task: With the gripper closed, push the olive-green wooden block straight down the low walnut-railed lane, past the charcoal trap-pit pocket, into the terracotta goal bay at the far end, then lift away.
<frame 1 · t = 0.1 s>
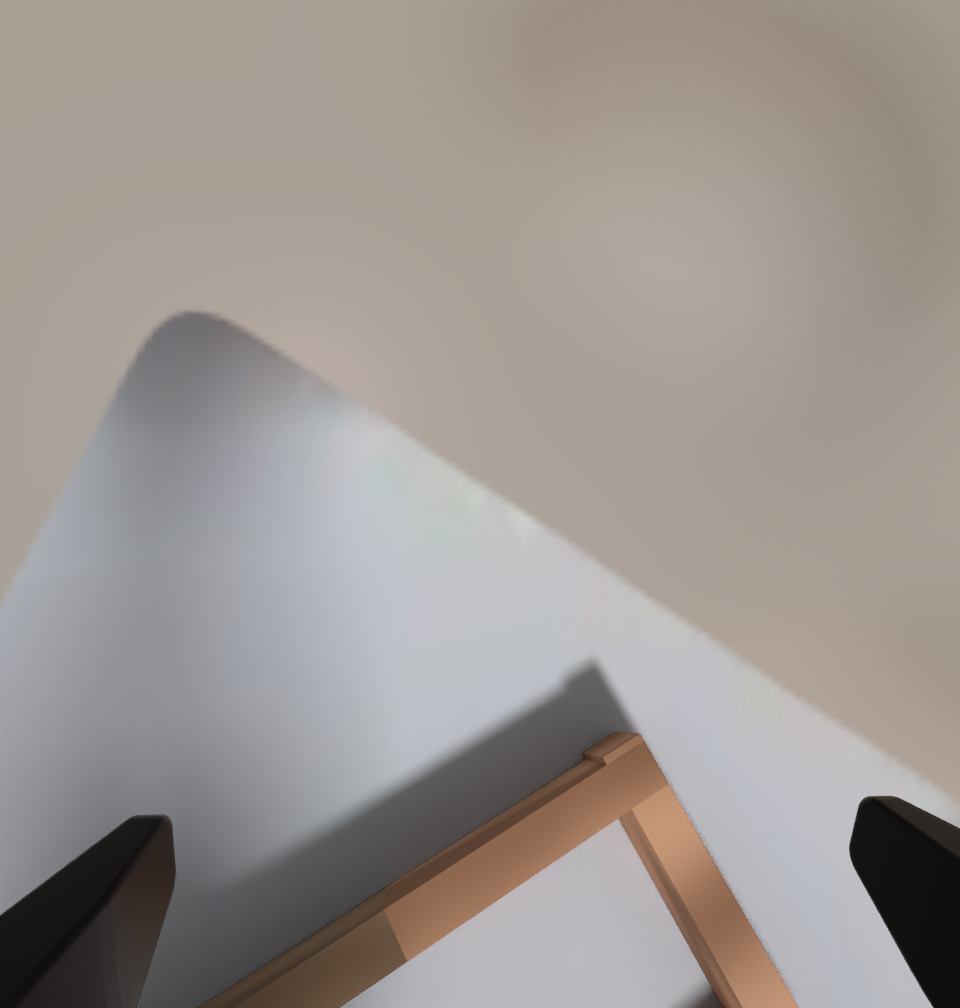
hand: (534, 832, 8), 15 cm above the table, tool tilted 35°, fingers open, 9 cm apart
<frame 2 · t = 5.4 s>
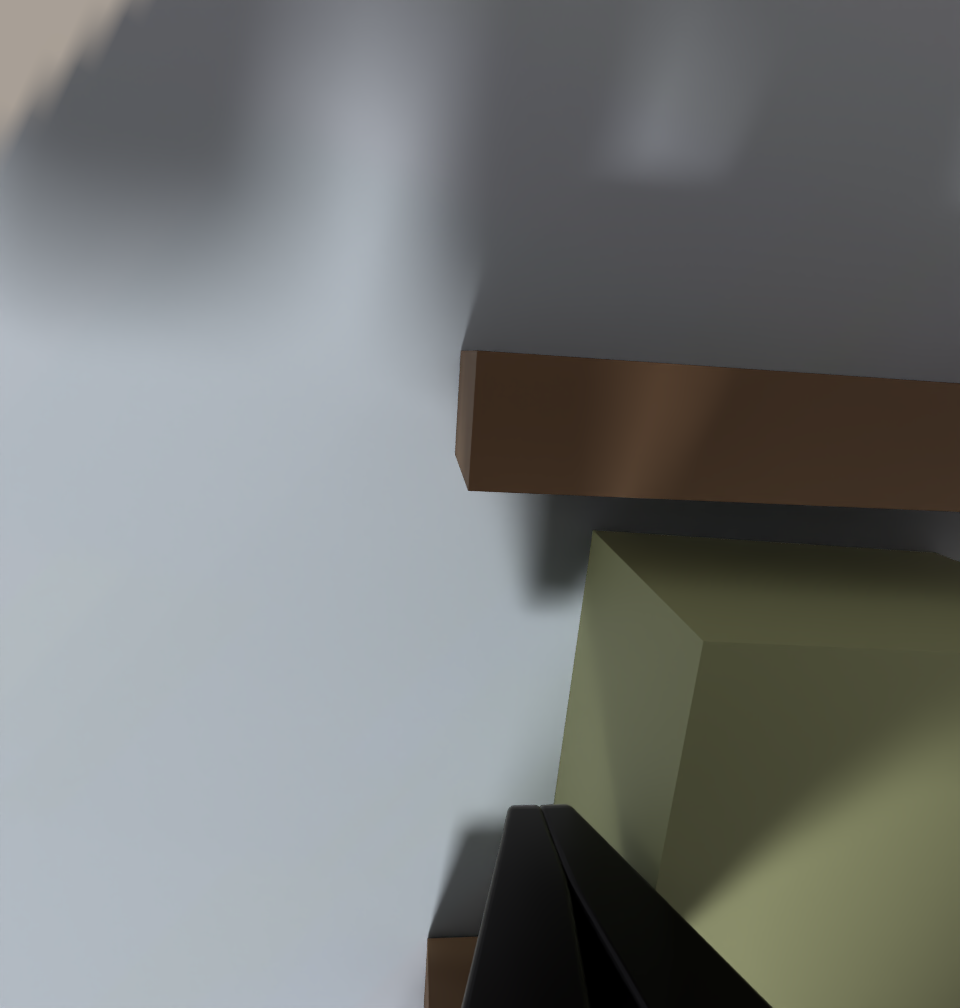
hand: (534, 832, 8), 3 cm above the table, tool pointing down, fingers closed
olive block: (731, 701, 11), on the table
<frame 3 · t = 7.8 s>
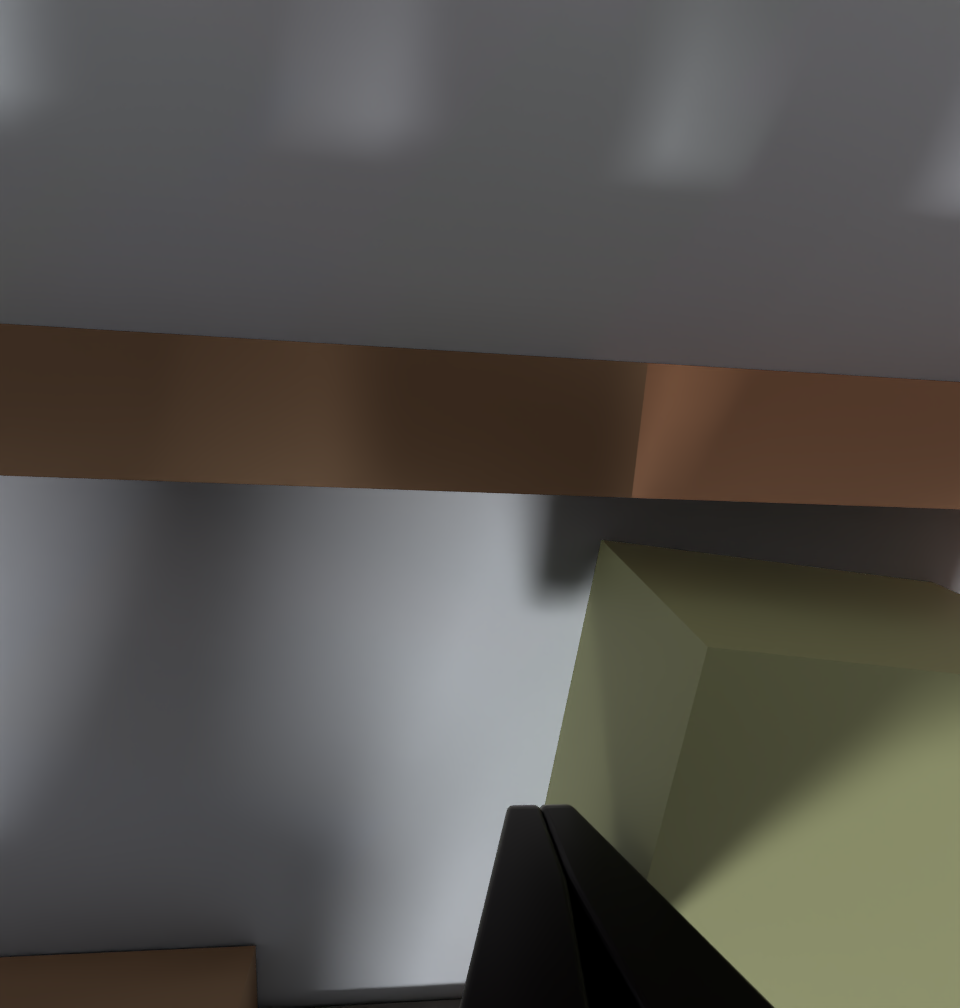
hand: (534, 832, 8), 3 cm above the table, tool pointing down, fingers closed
walled lane: (433, 721, 10), on the table
olive block: (721, 712, 11), on the table, touching gripper
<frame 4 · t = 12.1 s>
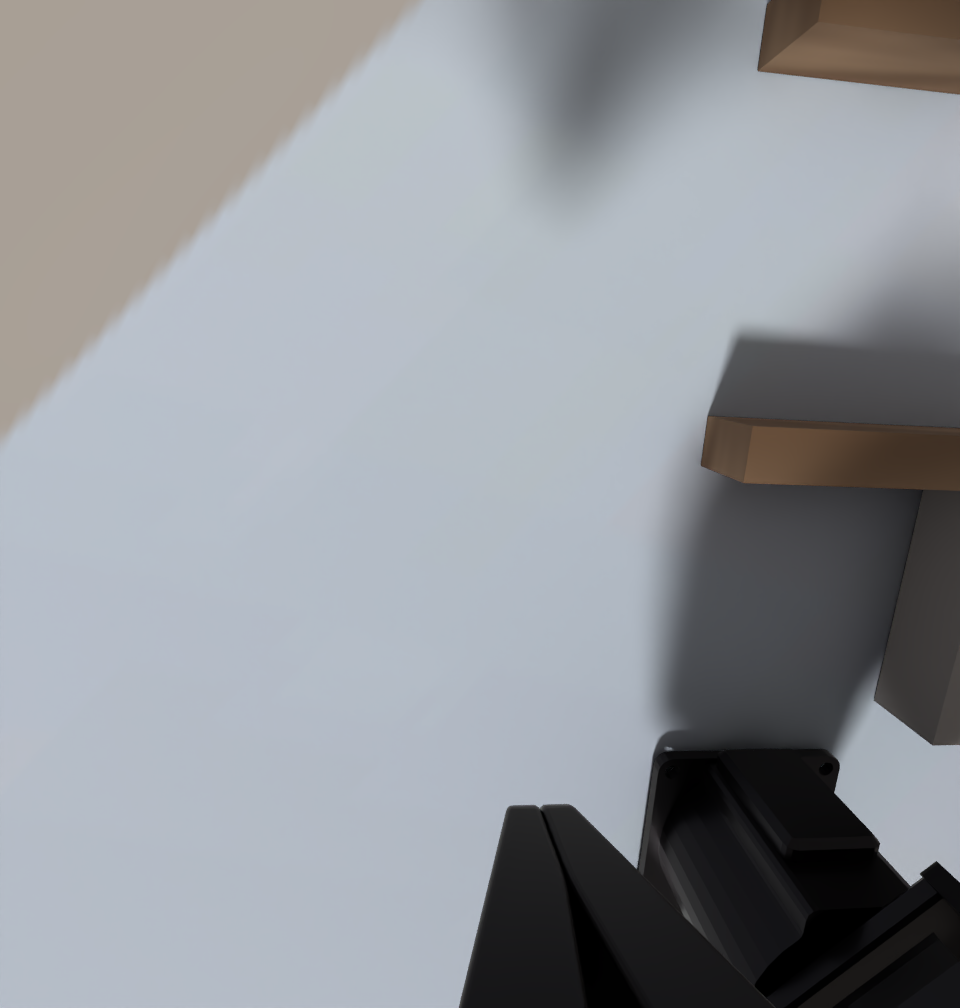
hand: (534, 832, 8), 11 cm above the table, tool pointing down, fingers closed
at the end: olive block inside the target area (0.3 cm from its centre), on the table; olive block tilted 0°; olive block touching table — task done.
